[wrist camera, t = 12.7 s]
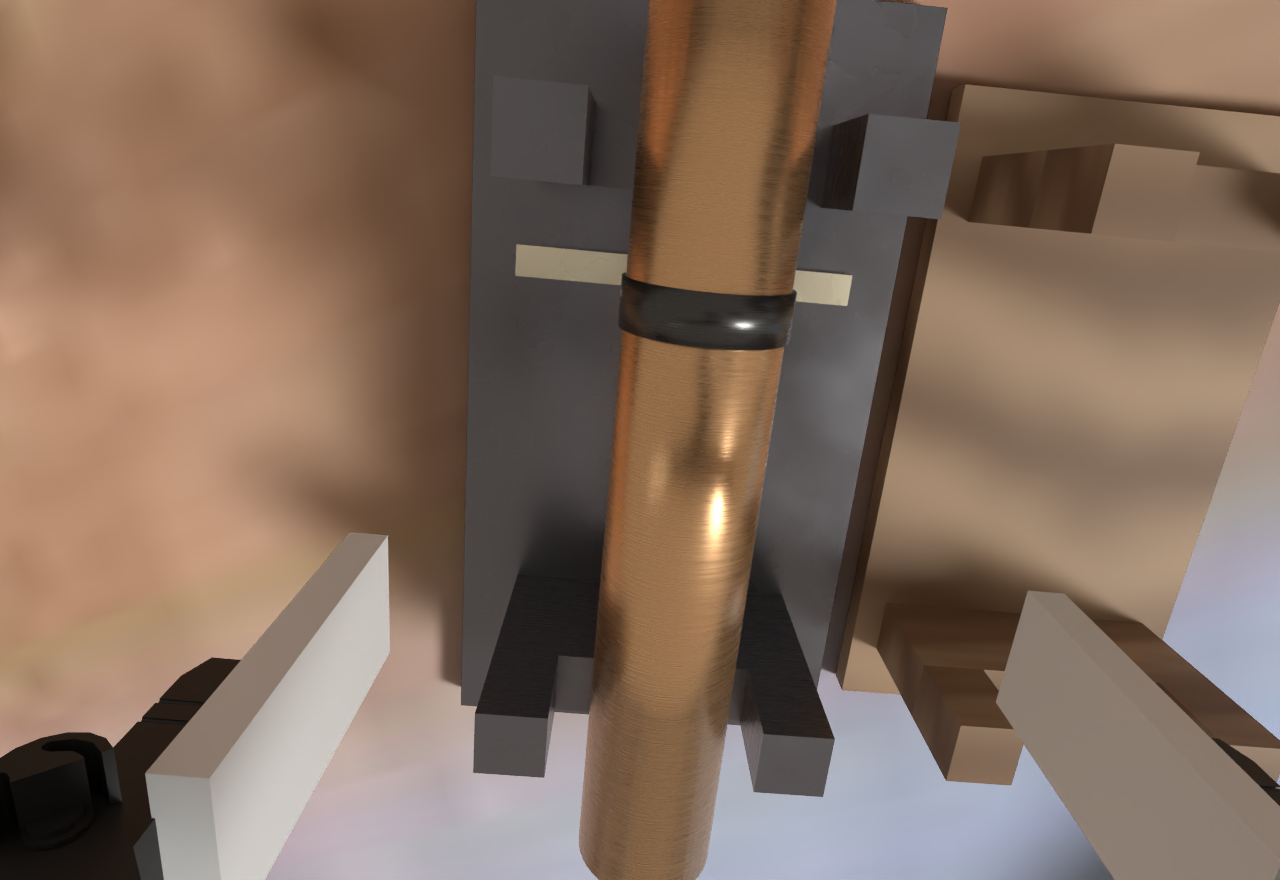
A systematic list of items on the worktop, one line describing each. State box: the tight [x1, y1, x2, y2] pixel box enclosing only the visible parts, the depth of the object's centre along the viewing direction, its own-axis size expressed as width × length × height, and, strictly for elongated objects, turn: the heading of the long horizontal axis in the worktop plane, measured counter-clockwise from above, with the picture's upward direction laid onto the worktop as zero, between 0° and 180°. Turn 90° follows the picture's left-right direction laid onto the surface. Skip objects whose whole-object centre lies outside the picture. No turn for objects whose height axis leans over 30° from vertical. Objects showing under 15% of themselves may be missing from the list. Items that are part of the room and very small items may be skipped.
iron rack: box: [461, 0, 961, 797], centre depth 23 cm, size 26×14×9 cm, turn 175°
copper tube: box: [579, 0, 837, 880], centre depth 20 cm, size 24×4×4 cm, turn 175°
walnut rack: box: [836, 84, 1280, 785], centre depth 24 cm, size 22×12×8 cm, turn 175°
